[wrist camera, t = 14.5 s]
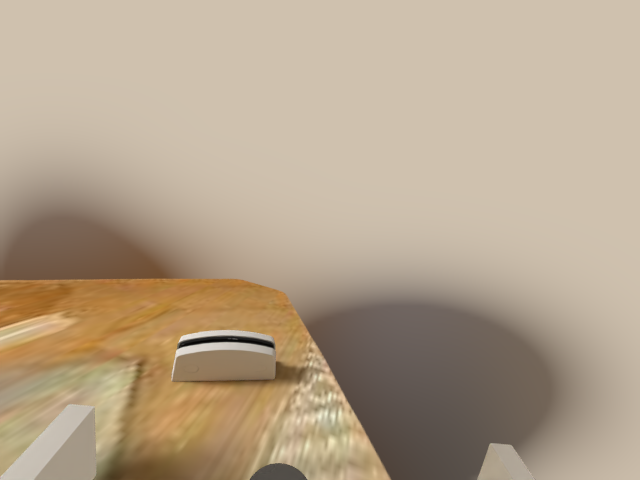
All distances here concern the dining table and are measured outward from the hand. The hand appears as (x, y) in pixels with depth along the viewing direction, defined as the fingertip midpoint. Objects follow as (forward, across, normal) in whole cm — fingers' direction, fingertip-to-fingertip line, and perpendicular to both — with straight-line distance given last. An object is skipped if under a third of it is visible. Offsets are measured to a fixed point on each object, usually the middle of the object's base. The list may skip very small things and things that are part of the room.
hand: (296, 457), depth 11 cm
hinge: (+39, -9, -28) cm, 49 cm away
